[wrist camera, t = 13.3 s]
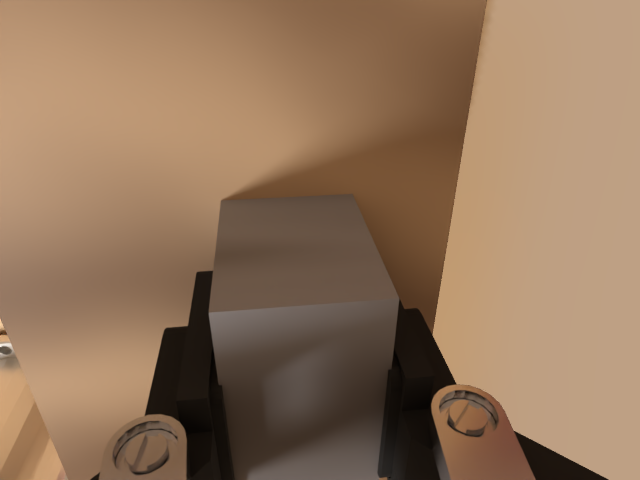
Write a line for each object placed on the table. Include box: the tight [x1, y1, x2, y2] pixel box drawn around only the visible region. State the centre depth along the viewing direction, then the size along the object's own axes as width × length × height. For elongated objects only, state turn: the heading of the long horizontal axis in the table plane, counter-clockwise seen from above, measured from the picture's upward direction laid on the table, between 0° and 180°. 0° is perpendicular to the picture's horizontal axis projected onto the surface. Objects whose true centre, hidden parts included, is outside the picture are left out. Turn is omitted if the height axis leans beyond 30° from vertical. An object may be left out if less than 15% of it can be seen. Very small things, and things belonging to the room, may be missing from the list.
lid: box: [0, 0, 487, 480], centre depth 12 cm, size 20×11×6 cm, turn 0°
